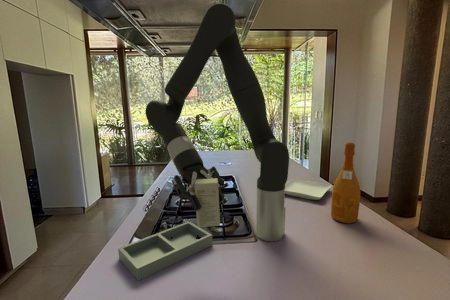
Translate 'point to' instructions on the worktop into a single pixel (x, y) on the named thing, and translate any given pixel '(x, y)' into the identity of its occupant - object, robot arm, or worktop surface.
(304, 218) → the worktop surface
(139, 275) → the carton tray
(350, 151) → the wine bottle
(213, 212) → the skincare box
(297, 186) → the salad plate
